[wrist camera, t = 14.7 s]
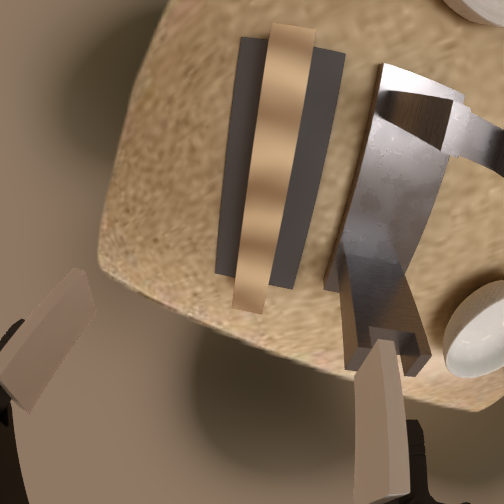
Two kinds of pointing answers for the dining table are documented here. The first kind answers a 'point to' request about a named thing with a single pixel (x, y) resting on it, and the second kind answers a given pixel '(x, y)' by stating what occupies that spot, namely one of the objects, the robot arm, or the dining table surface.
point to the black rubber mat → (304, 163)
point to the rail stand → (399, 208)
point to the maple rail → (272, 160)
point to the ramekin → (480, 11)
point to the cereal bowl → (476, 333)
